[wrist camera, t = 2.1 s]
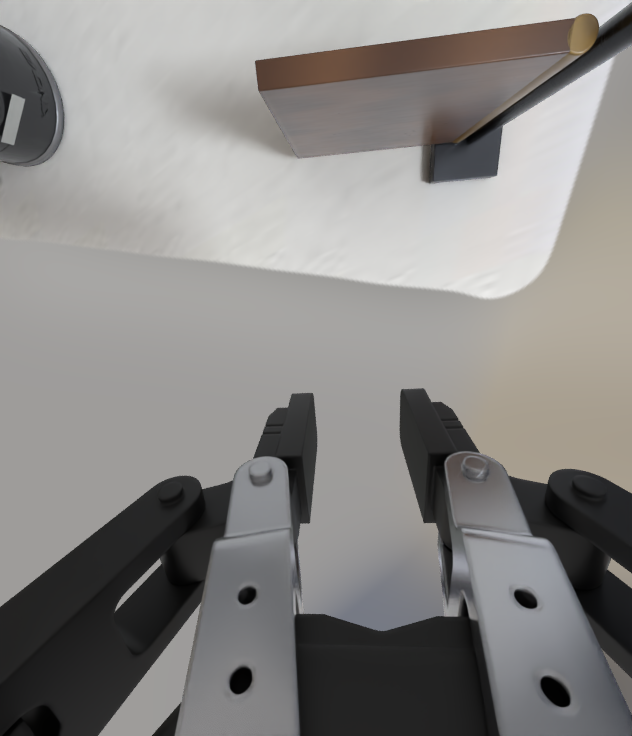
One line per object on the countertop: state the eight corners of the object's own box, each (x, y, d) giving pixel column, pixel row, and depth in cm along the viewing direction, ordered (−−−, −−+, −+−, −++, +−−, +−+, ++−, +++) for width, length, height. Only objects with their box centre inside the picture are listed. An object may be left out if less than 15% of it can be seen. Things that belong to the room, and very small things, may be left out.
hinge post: (429, 183, 28) (549, 123, 12) (433, 95, 25) (588, -123, 10) (490, 177, 27) (699, 107, 12) (500, 87, 25) (779, -155, 9)
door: (297, 160, 26) (258, 94, 13) (296, 142, 26) (254, 56, 13) (464, 142, 25) (595, 52, 12) (465, 123, 25) (603, 9, 12)
